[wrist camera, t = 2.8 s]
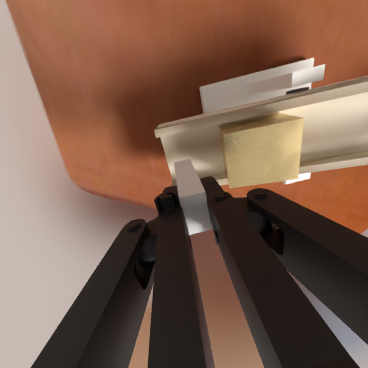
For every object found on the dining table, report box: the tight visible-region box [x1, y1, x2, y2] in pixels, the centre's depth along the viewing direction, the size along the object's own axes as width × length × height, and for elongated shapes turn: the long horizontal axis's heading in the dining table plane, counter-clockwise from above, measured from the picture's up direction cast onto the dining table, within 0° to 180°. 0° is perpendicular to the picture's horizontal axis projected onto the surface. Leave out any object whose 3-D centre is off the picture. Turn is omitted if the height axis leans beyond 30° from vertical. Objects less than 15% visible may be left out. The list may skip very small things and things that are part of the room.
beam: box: [154, 75, 368, 186], centre depth 18 cm, size 8×30×6 cm, turn 103°
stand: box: [199, 58, 325, 184], centre depth 22 cm, size 14×16×10 cm
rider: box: [219, 113, 304, 188], centre depth 16 cm, size 5×6×4 cm
